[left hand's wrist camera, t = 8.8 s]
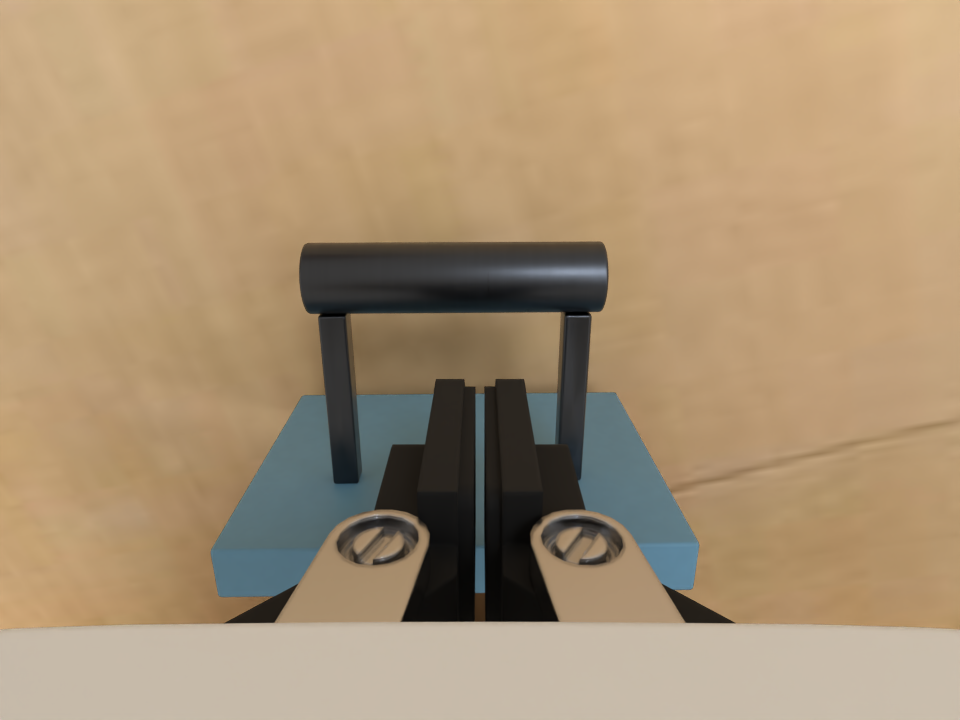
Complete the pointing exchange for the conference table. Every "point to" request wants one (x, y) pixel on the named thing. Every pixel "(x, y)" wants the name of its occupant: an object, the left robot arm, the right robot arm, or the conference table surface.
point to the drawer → (404, 418)
